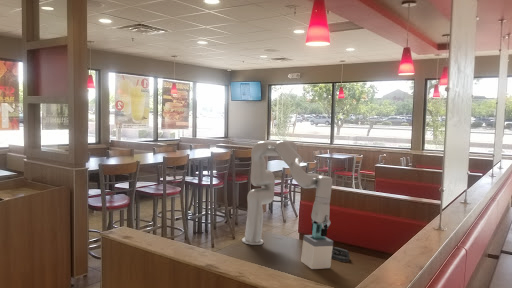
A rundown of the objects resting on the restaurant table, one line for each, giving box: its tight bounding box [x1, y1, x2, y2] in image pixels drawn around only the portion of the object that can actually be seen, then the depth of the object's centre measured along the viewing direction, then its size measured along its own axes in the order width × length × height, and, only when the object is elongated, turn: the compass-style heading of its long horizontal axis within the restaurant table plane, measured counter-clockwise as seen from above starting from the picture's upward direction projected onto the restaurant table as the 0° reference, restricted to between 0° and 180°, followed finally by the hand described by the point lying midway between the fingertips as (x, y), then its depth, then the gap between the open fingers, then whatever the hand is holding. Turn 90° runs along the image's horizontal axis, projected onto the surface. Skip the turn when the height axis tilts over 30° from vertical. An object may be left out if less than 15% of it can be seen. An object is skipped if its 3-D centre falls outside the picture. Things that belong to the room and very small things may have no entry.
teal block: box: [311, 222, 326, 240], centre depth 205 cm, size 3×6×10 cm, turn 115°
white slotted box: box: [300, 234, 334, 270], centre depth 205 cm, size 11×11×14 cm
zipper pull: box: [331, 246, 351, 263], centre depth 224 cm, size 9×7×25 cm
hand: (318, 233), depth 205 cm, fingers open, 8 cm apart
